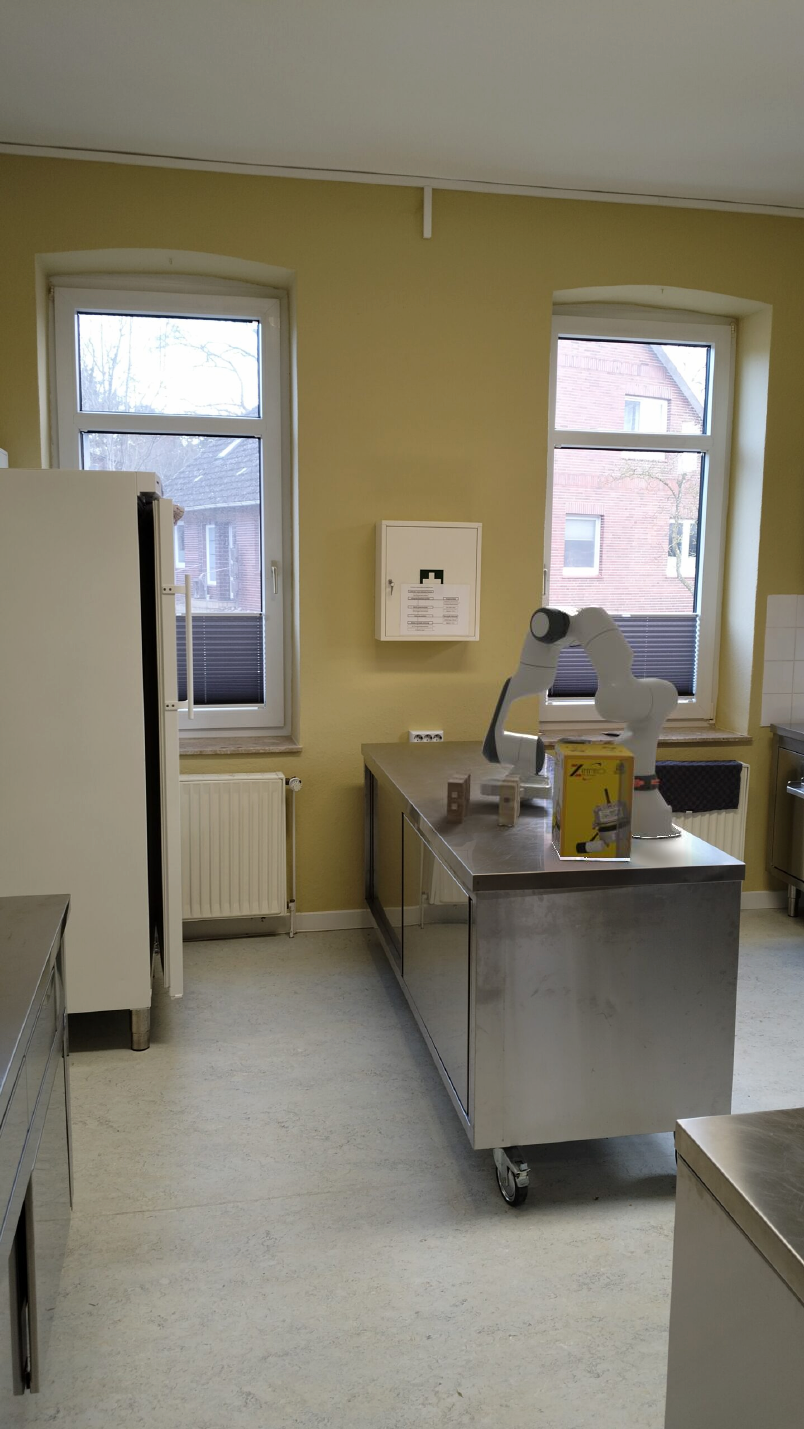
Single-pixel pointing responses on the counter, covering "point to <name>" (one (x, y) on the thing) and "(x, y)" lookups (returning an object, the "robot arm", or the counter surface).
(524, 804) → the counter surface
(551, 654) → the robot arm
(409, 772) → the counter surface
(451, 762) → the counter surface
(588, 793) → the packaging box
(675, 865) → the counter surface
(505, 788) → the maple tile one
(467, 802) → the walnut tile two
